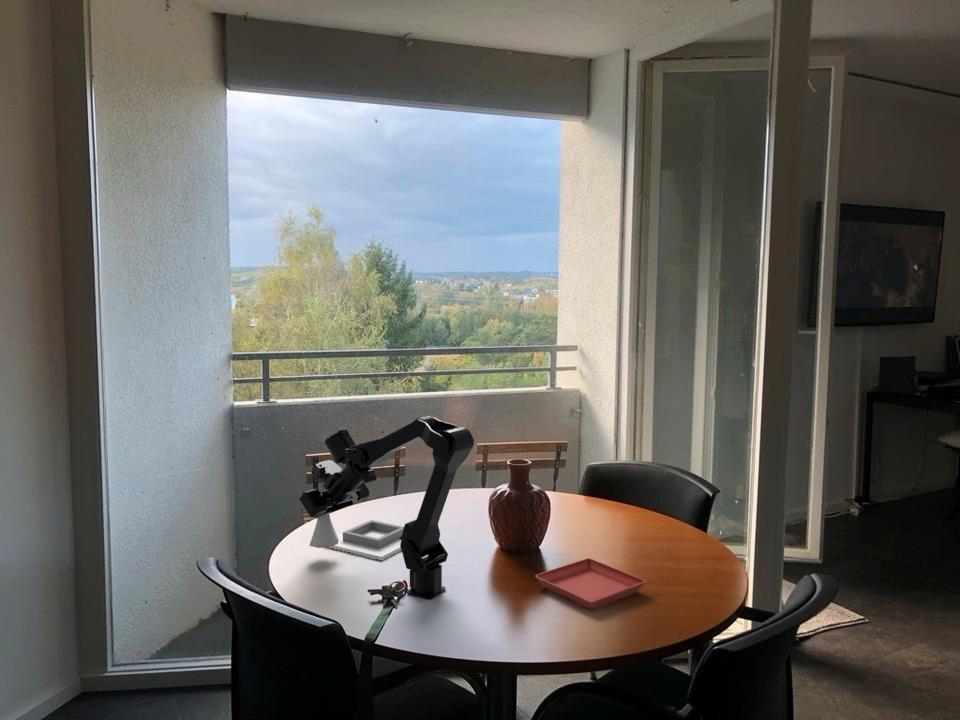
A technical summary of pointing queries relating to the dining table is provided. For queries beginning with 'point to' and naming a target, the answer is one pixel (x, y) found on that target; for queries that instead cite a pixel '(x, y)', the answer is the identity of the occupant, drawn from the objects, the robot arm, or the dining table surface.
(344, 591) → the dining table surface
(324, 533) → the flask
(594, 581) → the plant saucer
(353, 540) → the collar board
